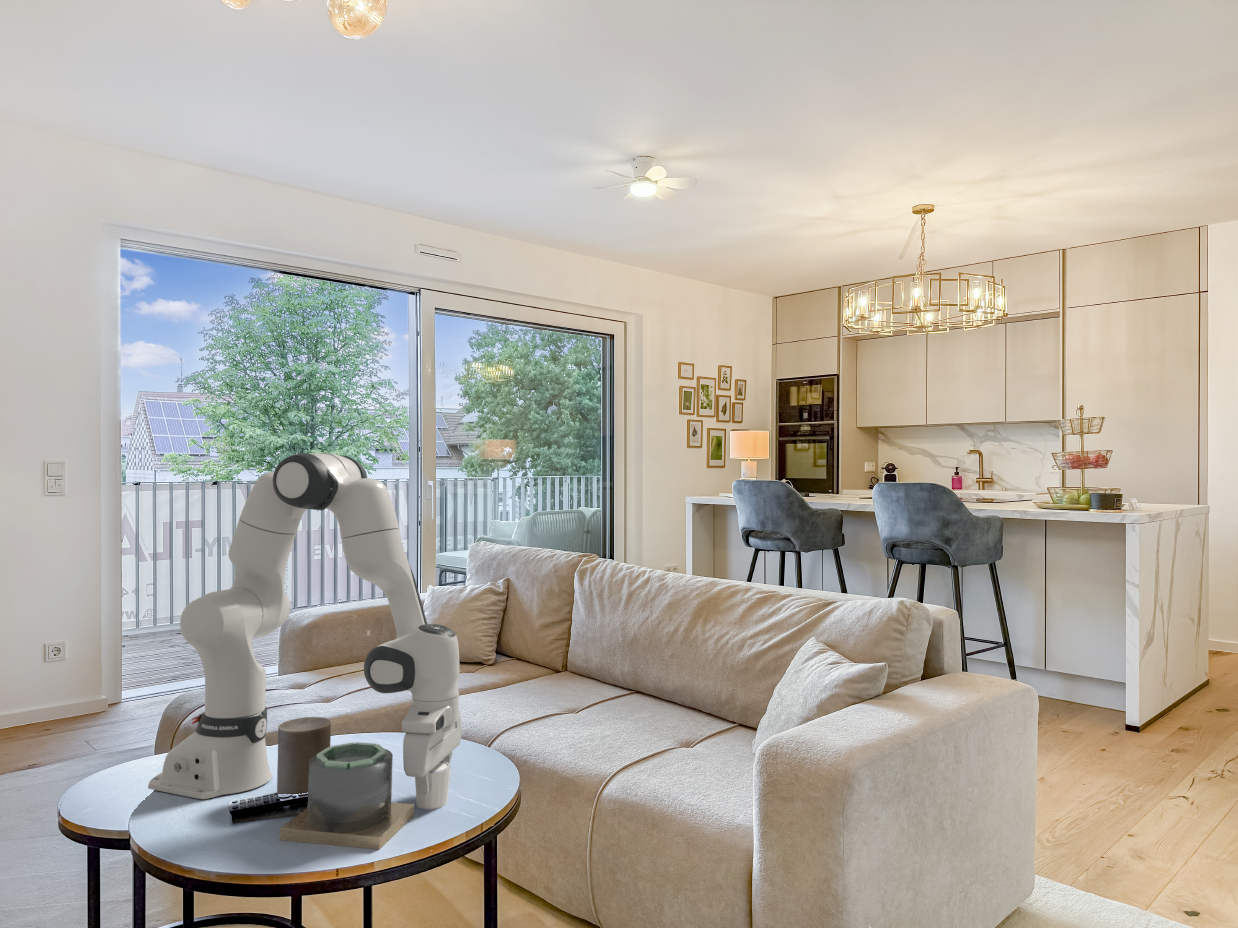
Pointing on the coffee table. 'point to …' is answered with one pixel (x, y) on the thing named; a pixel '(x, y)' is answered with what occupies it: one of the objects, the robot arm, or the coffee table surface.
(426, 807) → the white cylinder
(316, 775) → the green-rimmed dark canister
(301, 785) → the pillar candle
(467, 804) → the coffee table surface
